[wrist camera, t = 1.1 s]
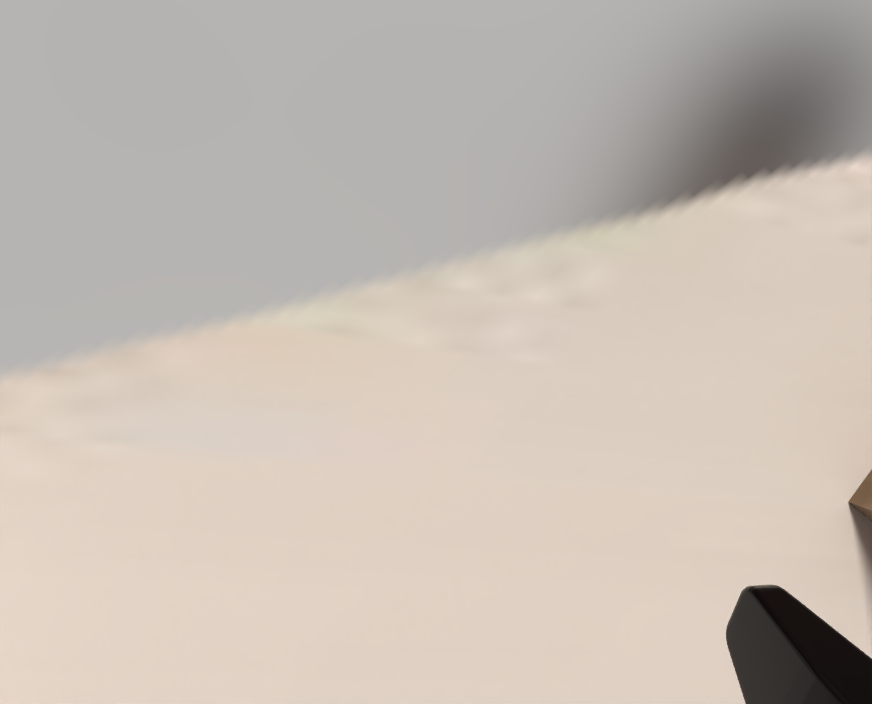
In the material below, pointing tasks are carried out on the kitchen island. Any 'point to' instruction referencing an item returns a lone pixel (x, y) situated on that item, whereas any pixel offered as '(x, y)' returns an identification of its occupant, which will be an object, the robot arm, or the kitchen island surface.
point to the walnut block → (864, 497)
